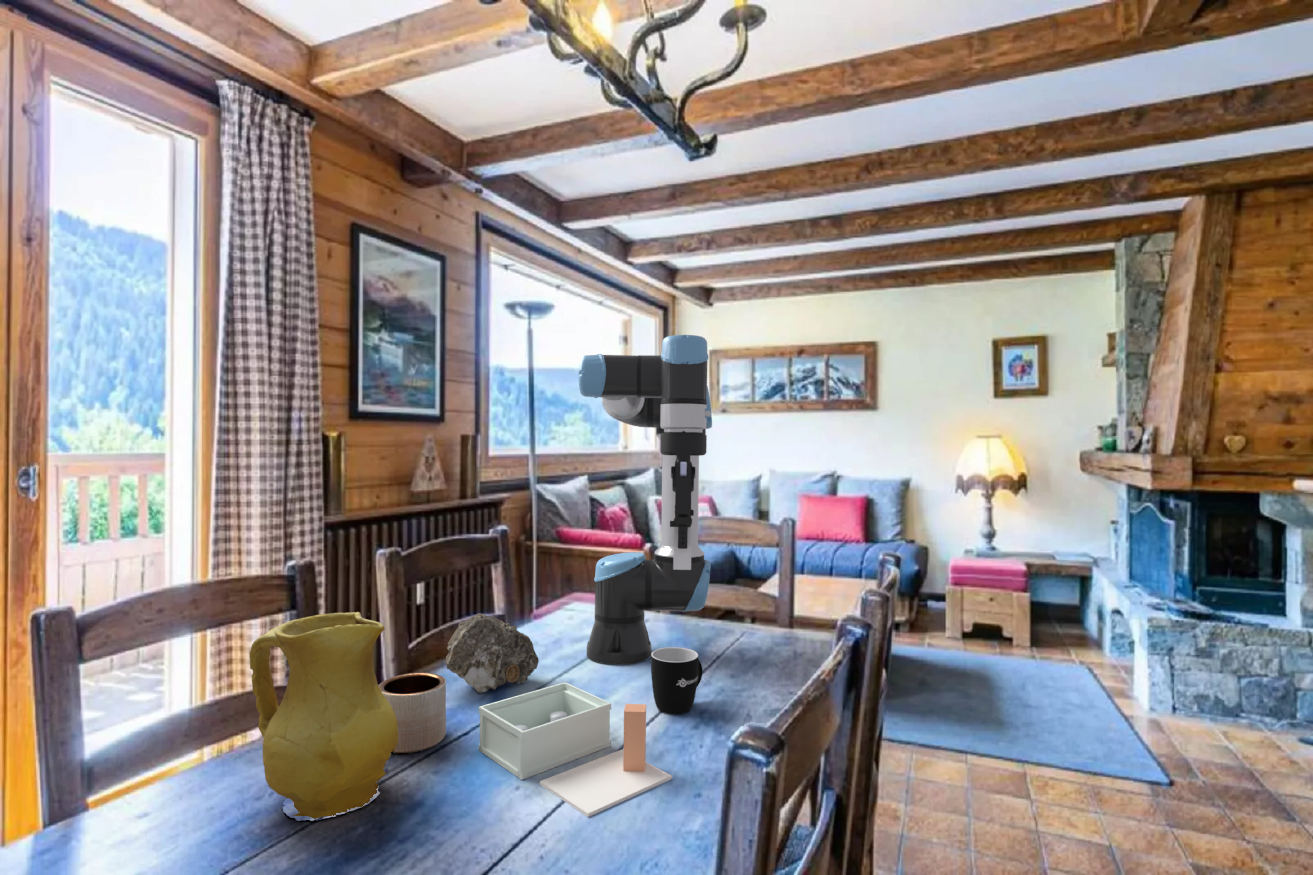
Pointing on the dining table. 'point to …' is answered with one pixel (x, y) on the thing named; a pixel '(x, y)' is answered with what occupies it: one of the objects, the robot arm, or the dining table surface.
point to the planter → (417, 709)
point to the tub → (544, 729)
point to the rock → (490, 653)
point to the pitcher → (324, 713)
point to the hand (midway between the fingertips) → (682, 561)
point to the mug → (675, 678)
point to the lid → (611, 771)
